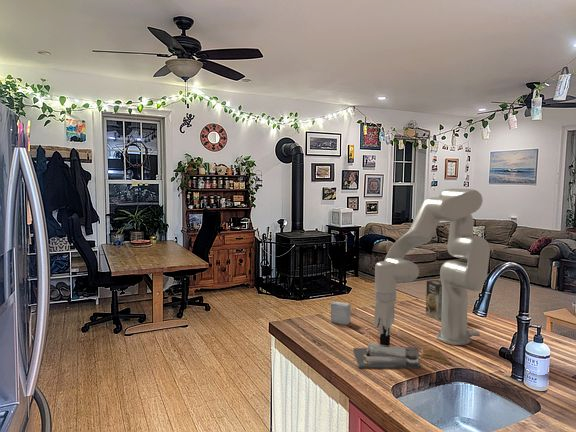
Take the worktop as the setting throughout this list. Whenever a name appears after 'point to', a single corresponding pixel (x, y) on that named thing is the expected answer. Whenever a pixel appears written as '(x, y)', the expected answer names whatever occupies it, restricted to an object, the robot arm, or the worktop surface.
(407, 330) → the worktop surface
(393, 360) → the divider base plate
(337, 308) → the medicine box
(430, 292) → the coffee box
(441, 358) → the shard
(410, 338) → the worktop surface
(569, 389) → the worktop surface
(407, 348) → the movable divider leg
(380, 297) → the robot arm
